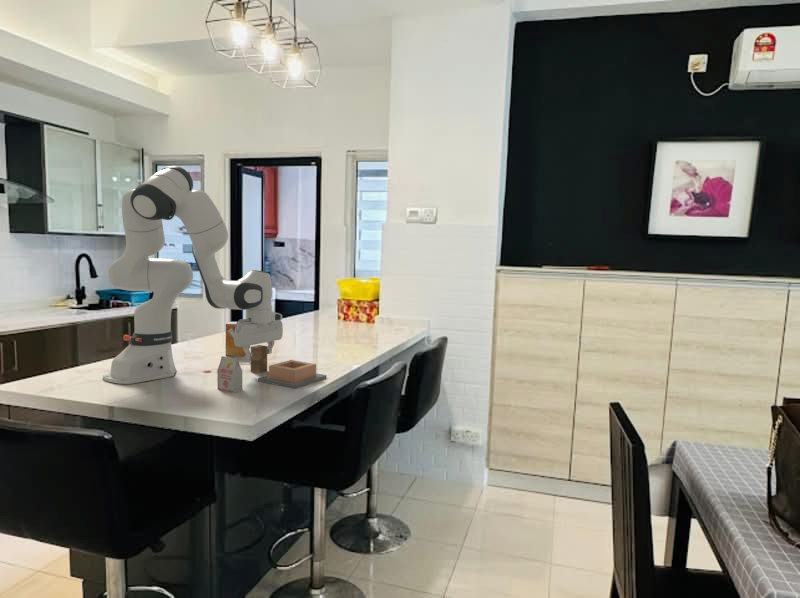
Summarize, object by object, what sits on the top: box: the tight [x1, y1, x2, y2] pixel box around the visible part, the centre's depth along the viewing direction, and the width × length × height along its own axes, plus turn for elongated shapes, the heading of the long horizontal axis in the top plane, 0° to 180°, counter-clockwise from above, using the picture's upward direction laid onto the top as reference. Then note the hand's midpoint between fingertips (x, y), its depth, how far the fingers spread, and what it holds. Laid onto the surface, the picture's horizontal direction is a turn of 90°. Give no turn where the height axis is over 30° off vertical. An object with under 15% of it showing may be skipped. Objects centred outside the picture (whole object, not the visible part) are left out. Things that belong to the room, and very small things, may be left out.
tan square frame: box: [257, 359, 327, 389], centre depth 174 cm, size 16×16×5 cm
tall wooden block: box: [250, 344, 268, 374], centre depth 184 cm, size 4×4×9 cm
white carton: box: [216, 355, 243, 394], centre depth 160 cm, size 4×7×10 cm, turn 60°
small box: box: [225, 321, 246, 357], centre depth 211 cm, size 8×6×13 cm
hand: (259, 355), depth 183 cm, fingers open, 8 cm apart
